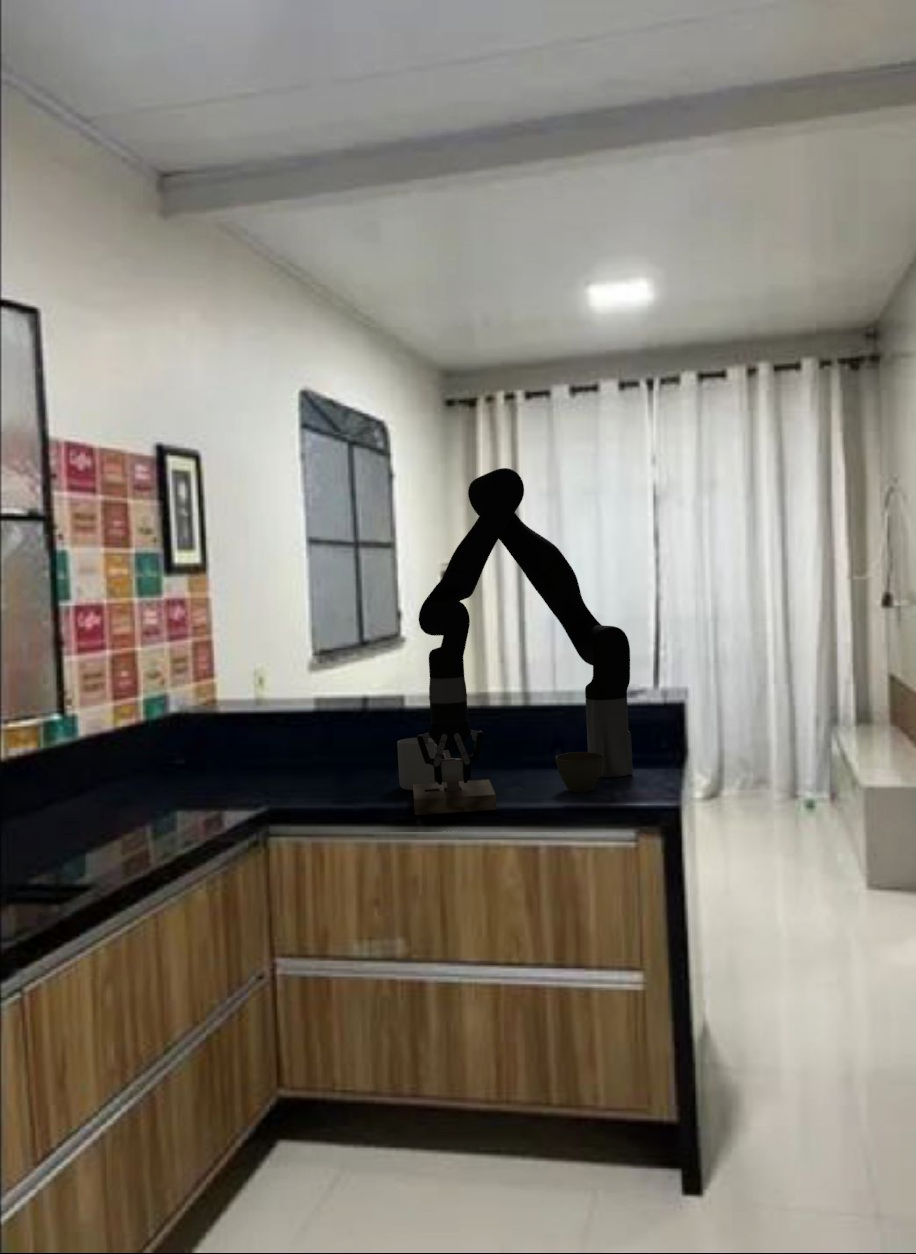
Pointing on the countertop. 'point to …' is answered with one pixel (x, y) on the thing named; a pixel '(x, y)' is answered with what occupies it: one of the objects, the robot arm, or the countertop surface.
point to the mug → (415, 763)
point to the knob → (452, 772)
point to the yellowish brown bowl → (580, 770)
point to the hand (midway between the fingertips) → (452, 782)
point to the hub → (454, 797)
